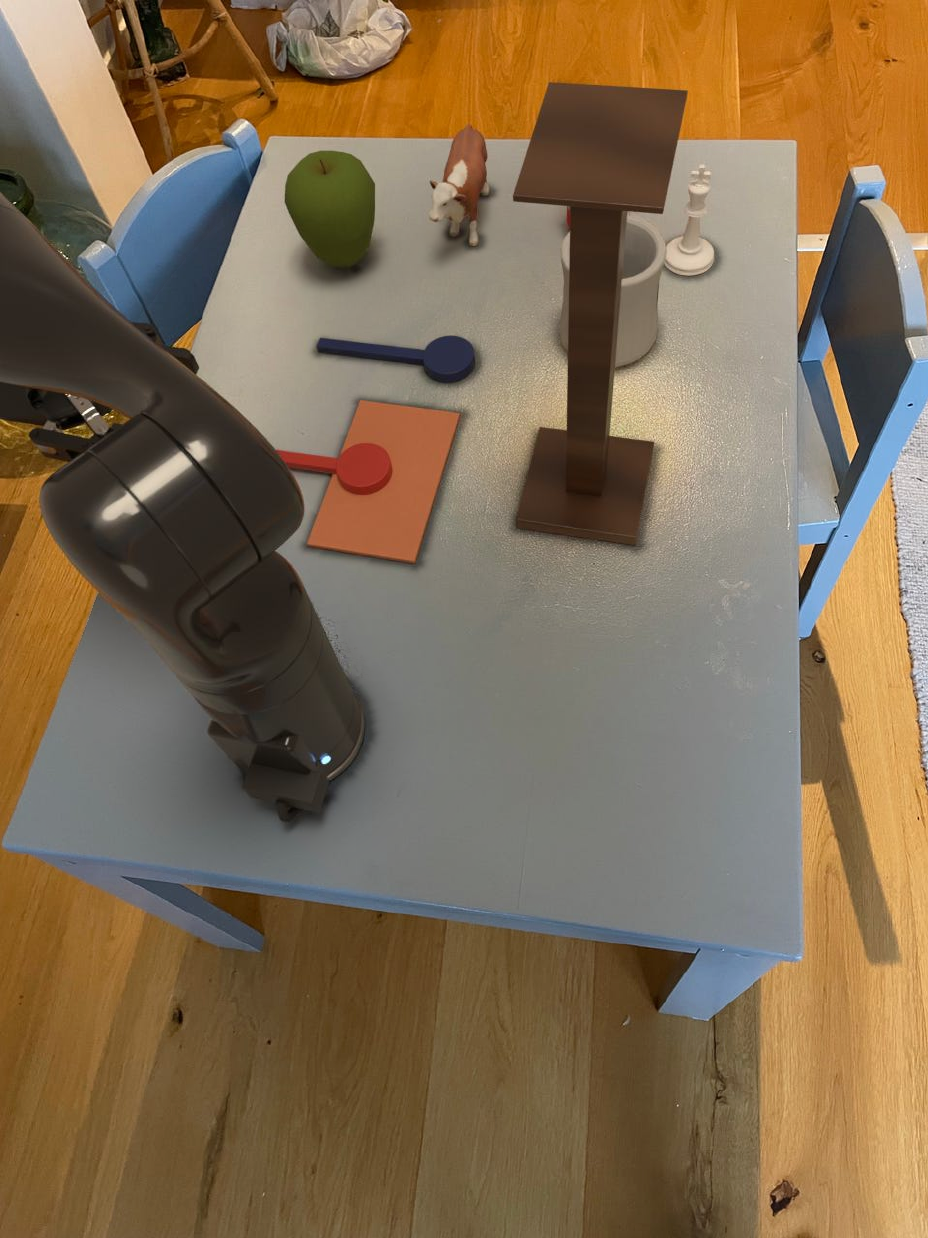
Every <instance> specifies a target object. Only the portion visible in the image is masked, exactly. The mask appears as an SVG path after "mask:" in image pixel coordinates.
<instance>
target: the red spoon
mask: <svg viewBox="0 0 928 1238" xmlns="http://www.w3.org/2000/svg"><path fill="white" fill-rule="evenodd" d="M275 450H276V451H277V452H278V453H279V455H280V456H281V458H282V459H283V460H284V462H285V463H286V465H287V466H288V468H289V469H297V470H298V469H299V470H305V471H311V472H317V473H318V472H320V473H326V474H332V475H333V474H337V476H338V479H339V481H340V483H341V485H342V486H343V488H345V489H346V490H347V491H349V492H351V493H354V494H359V495H366V494H371V493H374V492H377V491H379V490H380V489H382V488H383V487H384V486H385V485H386V484H387V483H388V482H389V480H390V478H391V476H392V464H391V460H390V457H389V454H388V453H387V451H386V450H385V449H383V448H382V447H381V446H379V445H376V444H373V443H360V444H356V445H353V446H351V447H349V448H347V449H346V450H345V451H344V452H343V453H342V454H341V453H340V454H341V455H340V454H339V456H338V457H333V456H323V455H317V454H311V453H302V452H294V451H289V450H288V451H287V450H280V449H275Z"/></svg>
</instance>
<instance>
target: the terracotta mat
mask: <svg viewBox="0 0 928 1238" xmlns="http://www.w3.org/2000/svg"><path fill="white" fill-rule="evenodd" d="M460 418H461V413H460V412H453V411H447V410H439V409H433V408H432V409H431V408H423V407H415V406H408V405H400V404H394V403H393V404H392V403H384V402H377V401H371V400H364V399H363V400H362V399H360V400H359V403H358V406H357V409H356V411H355V414H354V416H353V419H352V422H351V424H350V426H349V429H348V432H347V435H346V438H345V440H344V443H343V446H342V448H341V451H340V454H339V456H340V455H341V454H342V453H343V452H344V451H345V450H346V449H347V448H349V447H351V446H353V445H356V444H360V443H373V444H376V445H379V446H381V447H382V448H383V449H385V450H386V451H387V453H388V454H389V457H390V460H391V464H392V476H391V478H390V480H389V482H388V483H387V484H386V485H385V486H384V487H383V488H382V489H380V490H379V491H377V492H374V493H371V494H366V495H359V494H354V493H351V492H349V491H347V490H346V489H345V488H343V486H342V485H341V483H340V481H339V479H338V476H337V474H333V473H332V475H331V478H330V481H329V482H328V483H329V484H328V486H327V489H326V491H325V493H324V497H323V499H322V502H321V505H320V507H319V510H318V513H317V516H316V518H315V520H314V523H313V526H312V529H311V533H310V535H309V537H308V539H307V542H306V545H307V547H310V548H316V549H322V550H328V551H335V552H339V553H340V552H341V553H347V554H353V555H359V556H364V557H365V556H366V557H371V558H379V559H383V560H389V561H395V562H401V563H402V562H403V563H408V564H416V563H417V559H418V556H419V553H420V549H421V546H422V543H423V539H424V535H425V532H426V529H427V525H428V524H429V520H430V517H431V513H432V509H433V508H434V507H433V506H434V503H435V499H436V497H437V493H438V490H439V488H440V483H441V482H442V481H441V480H442V477H443V474H444V471H445V467H446V464H447V461H448V457H449V454H450V451H451V448H452V444H453V441H454V438H455V435H456V431H457V428H458V424H459V422H460Z"/></svg>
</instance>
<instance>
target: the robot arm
mask: <svg viewBox="0 0 928 1238" xmlns="http://www.w3.org/2000/svg"><path fill="white" fill-rule="evenodd" d="M199 370H200V366H199V363H198V361H197V359H196V357H195V355H194V354H193V353H192V352H191V350H190V349H187V348H186V347H179V346H171V345H165V344H164V343H163V341H162V339H161V337H160V335H159V334H158V331H157V328H156V326H155V325H154V324H153V323H149V322H134V321H131V320H129V318H127V317H126V316H125V315H124V314H123V313H121V312H120V310H118V309H117V308H116V307H115V306H114V305H112V304H111V303H110V301H108V300H107V299H106V297H104V296H103V295H102V294H101V293H100V292H99V291H98V290H97V289H96V288H95V287H94V286H93V285H92V284H91V283H90V282H89V281H88V280H87V279H86V278H85V277H84V276H83V275H82V274H81V273H80V272H79V270H77V268H75V266H74V265H73V264H72V263H71V262H70V261H69V260H68V259H67V258H66V257H65V256H64V255H63V253H62V252H60V251H59V249H58V248H57V247H56V246H55V245H54V244H53V243H52V242H51V241H50V240H49V239H48V238H47V236H45V234H43V232H42V231H41V230H40V229H39V228H38V227H37V226H36V225H35V224H34V223H33V222H32V221H31V220H30V219H29V218H28V217H26V215H25V214H24V213H22V211H21V210H20V209H18V207H16V206H15V204H14V203H12V202H11V201H10V200H9V199H8V198H7V197H6V196H5V195H4V194H3V193H2V192H1V191H0V420H2V421H8V422H15V423H21V424H29V425H34V426H40V427H35V428H32V429H31V430H30V431H29V432H28V438H29V439H30V440H31V442H32V443H33V444H34V445H35V447H36V448H37V449H38V451H39V452H40V453H41V455H42V456H43V457H45V458H49V459H52V460H57V461H62V462H66V463H65V464H64V465H62V466H60V468H58V469H57V470H55V471H54V472H53V473H51V474H50V475H49V476H48V477H47V478H45V480H44V482H43V484H42V485H41V487H40V490H39V498H38V499H39V500H38V502H39V507H40V508H39V509H40V513H41V516H42V518H43V521H44V523H45V526H46V528H47V530H48V532H49V534H50V536H51V537H52V539H53V540H54V542H55V543H56V545H57V546H58V548H59V549H60V550H61V552H62V553H63V554H64V557H66V559H67V560H68V561H69V562H70V564H71V565H72V566H73V567H74V568H75V569H76V570H77V572H78V573H79V574H80V575H81V576H82V577H83V578H84V579H85V581H87V582H88V583H89V584H90V586H91V587H92V588H94V589H95V590H96V591H97V593H98V594H99V595H100V596H101V597H102V598H104V600H106V601H107V602H108V603H109V604H110V605H111V607H113V608H114V609H115V610H116V611H117V612H118V613H119V614H121V615H122V616H123V617H124V618H125V620H126V621H127V622H129V624H130V625H132V626H133V627H134V629H136V631H137V632H138V633H140V634H141V636H142V637H143V638H144V639H145V640H146V641H147V643H148V644H149V645H150V646H151V648H152V649H153V650H154V651H155V653H156V654H157V655H158V656H159V657H160V659H161V661H162V662H163V663H164V665H165V666H166V667H167V669H169V670H170V672H171V673H172V674H173V675H174V676H175V677H176V678H177V679H178V680H179V682H180V683H181V684H182V686H183V687H184V688H185V689H186V690H187V691H188V693H190V695H191V696H192V697H193V699H194V700H195V702H197V703H198V704H199V705H200V707H201V708H202V709H203V710H204V711H205V713H206V714H207V715H208V717H210V722H209V725H208V726H207V729H206V734H207V735H208V736H209V738H211V740H212V741H213V742H214V743H215V745H217V746H218V748H219V749H220V750H221V752H223V753H224V754H225V755H226V756H227V758H229V760H230V761H231V762H232V763H233V764H234V765H235V766H236V767H237V769H238V770H239V771H240V772H241V773H242V774H243V775H244V776H245V778H244V780H243V783H242V786H241V789H242V790H243V791H244V792H245V793H246V794H247V795H248V796H249V797H250V799H253V800H258V801H262V802H263V801H264V802H267V803H272V804H275V805H276V812H277V816H278V819H279V820H280V821H281V822H284V823H289V822H290V823H291V822H292V821H294V820H295V819H296V818H297V817H298V815H299V814H300V813H301V812H302V811H303V810H304V811H308V812H313V813H318V814H319V813H321V809H322V806H323V804H324V800H325V797H326V795H327V790H328V788H329V784H330V781H333V779H335V778H337V777H338V776H339V775H341V774H342V773H343V772H344V771H345V770H346V769H347V768H348V767H349V766H350V765H351V764H352V762H353V761H354V760H355V758H356V757H357V755H358V753H359V751H360V749H361V747H362V744H363V742H364V737H365V730H366V720H365V713H364V709H363V707H362V703H361V702H360V699H359V697H358V695H357V694H356V692H355V691H354V689H353V688H352V686H351V683H350V680H349V679H348V677H347V675H346V673H345V671H344V668H343V667H342V665H341V662H340V660H339V658H338V657H337V654H336V652H335V649H334V647H333V646H332V643H331V642H330V639H329V636H328V635H327V632H326V631H325V628H324V627H323V624H322V622H321V620H320V617H319V615H318V613H317V611H316V609H315V607H314V605H313V602H312V601H311V598H310V596H309V594H308V591H307V590H306V587H305V585H304V582H303V581H302V578H301V577H300V575H299V573H298V572H297V571H296V569H295V567H294V566H293V565H292V564H291V563H290V562H289V561H288V559H287V558H285V557H284V556H283V555H282V554H280V552H278V551H277V550H278V549H279V548H281V547H282V546H283V545H284V544H285V543H286V542H287V541H288V540H289V539H290V538H292V536H293V535H294V534H295V533H296V532H297V531H298V530H299V528H300V527H301V525H302V522H303V520H304V517H305V510H306V509H305V508H306V507H305V500H304V495H303V493H302V492H303V491H302V490H301V487H300V485H299V483H298V481H297V479H296V477H295V475H294V474H293V472H292V471H291V468H290V467H288V466H287V465H286V463H285V462H284V460H283V459H282V458H281V456H280V455H279V453H278V452H277V451H276V450H277V449H275V447H274V445H272V444H271V443H270V441H268V439H267V438H266V437H265V436H264V435H263V433H262V432H260V430H259V429H258V428H257V426H255V425H254V424H253V423H252V422H251V421H250V420H249V419H248V418H247V417H246V416H245V415H243V414H242V413H241V412H240V411H239V410H238V409H237V408H236V407H235V406H234V405H233V404H232V403H230V402H229V401H228V400H227V399H226V398H225V397H223V396H222V395H221V394H220V393H219V392H218V391H216V390H215V388H213V387H212V386H210V385H209V384H208V383H207V382H206V381H204V380H203V379H202V378H201V377H199V376H198V372H199ZM112 411H115V412H117V413H118V414H120V415H122V416H124V417H126V418H127V421H125V422H123V423H117V422H112V425H111V426H109V424H108V423H107V422H106V420H105V419H104V418H103V417H104V416H106V415H107V414H108V415H111V412H112ZM84 424H85V425H86V426H87V427H88V429H89V430H90V431H91V433H93V435H91V436H90V437H89V438H88V437H83V436H80V435H76V434H75V435H74V434H69V433H65V432H63V431H68V430H70V429H73V428H76V427H79V426H81V425H84ZM41 427H42V428H41ZM288 807H290V808H289V809H288Z"/></svg>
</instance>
